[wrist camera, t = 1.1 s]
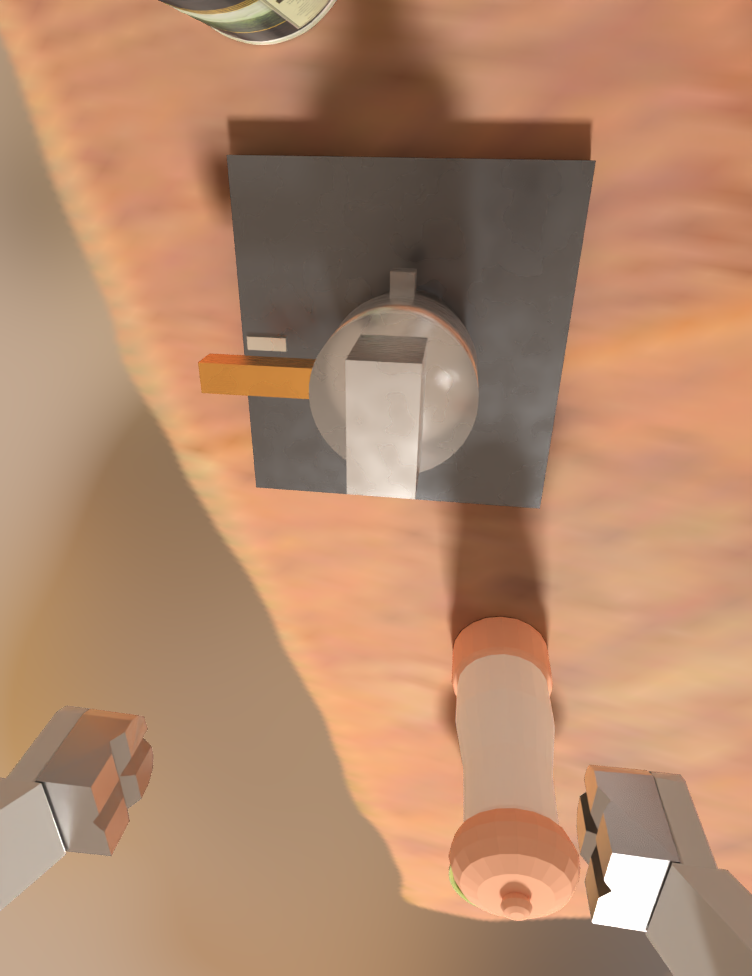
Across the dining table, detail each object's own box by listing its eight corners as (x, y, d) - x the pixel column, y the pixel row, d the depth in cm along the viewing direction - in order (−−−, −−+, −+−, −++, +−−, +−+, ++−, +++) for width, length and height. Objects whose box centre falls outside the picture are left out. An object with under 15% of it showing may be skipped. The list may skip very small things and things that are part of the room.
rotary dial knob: (486, 270, 30) (493, 308, 23) (468, 461, 35) (469, 546, 27) (210, 260, 32) (129, 293, 24) (230, 445, 37) (168, 521, 29)
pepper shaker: (527, 697, 50) (557, 968, 33) (441, 672, 50) (427, 931, 33) (562, 632, 46) (616, 899, 30) (470, 605, 46) (471, 857, 30)
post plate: (235, 155, 34) (201, 154, 30) (590, 160, 32) (609, 161, 28) (262, 477, 44) (239, 513, 39) (537, 497, 41) (545, 537, 37)
